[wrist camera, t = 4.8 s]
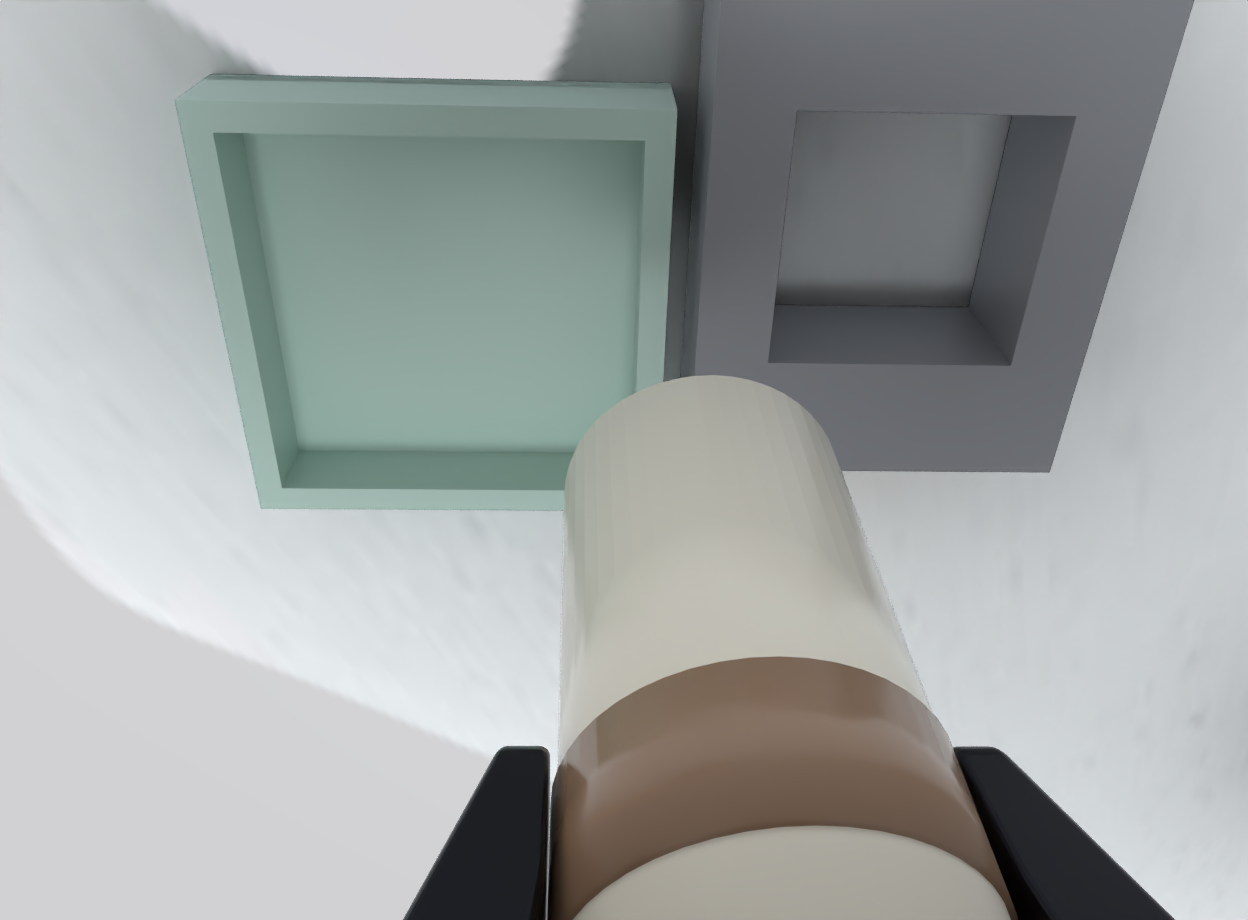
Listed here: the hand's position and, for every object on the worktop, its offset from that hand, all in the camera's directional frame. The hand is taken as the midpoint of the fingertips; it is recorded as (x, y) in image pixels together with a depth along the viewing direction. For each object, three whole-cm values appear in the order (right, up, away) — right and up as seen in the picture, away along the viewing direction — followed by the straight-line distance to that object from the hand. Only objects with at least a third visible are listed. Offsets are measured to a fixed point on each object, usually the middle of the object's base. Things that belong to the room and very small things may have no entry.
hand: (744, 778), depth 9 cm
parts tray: (-4, +6, +11) cm, 14 cm away
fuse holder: (+4, +8, +11) cm, 14 cm away
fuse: (0, +2, +3) cm, 4 cm away
